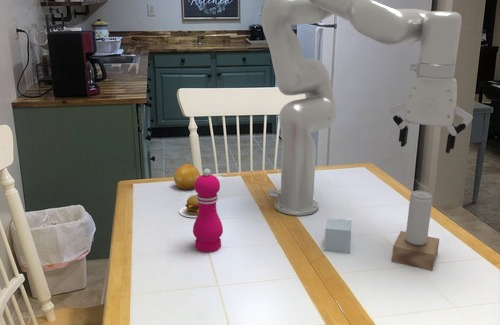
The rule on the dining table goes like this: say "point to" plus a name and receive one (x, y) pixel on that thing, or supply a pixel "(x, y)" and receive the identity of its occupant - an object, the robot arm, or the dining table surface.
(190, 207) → the hamburger
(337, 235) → the grey-blue block
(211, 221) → the pepper mill
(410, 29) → the robot arm
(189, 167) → the fruit
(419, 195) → the beverage can
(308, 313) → the dining table surface
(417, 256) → the walnut block
